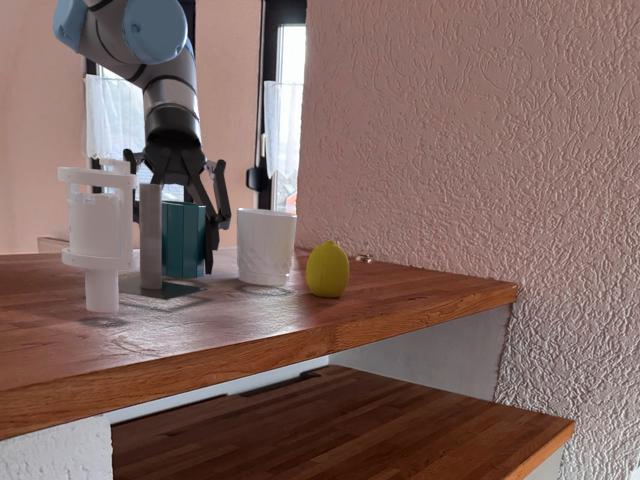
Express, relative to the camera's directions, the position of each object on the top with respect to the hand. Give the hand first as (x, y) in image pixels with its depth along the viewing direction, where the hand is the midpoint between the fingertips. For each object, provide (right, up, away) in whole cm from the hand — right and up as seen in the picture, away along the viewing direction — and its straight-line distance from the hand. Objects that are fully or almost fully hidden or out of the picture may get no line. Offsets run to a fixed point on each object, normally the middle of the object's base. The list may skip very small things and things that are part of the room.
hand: (182, 266), depth 93 cm
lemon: (+18, -5, +2) cm, 19 cm away
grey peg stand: (-2, -6, -7) cm, 10 cm away
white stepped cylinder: (-3, -12, -20) cm, 24 cm away
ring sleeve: (-1, -1, +4) cm, 5 cm away
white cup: (+9, -1, +7) cm, 12 cm away
